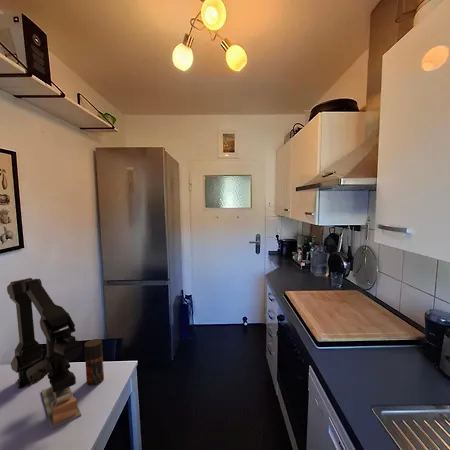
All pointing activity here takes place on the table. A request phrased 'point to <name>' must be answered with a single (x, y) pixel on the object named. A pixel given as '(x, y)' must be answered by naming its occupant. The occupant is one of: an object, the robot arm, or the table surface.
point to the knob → (61, 397)
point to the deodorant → (94, 362)
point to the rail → (60, 409)
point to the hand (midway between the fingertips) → (60, 395)
